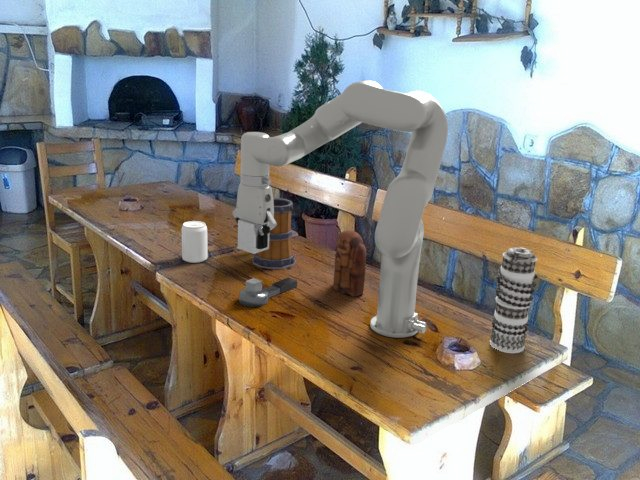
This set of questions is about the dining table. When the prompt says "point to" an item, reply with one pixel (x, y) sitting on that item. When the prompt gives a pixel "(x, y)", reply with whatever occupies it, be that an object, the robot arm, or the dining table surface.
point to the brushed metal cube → (249, 236)
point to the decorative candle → (513, 300)
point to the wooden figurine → (350, 264)
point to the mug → (278, 239)
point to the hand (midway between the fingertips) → (253, 244)
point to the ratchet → (263, 291)
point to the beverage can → (194, 241)
